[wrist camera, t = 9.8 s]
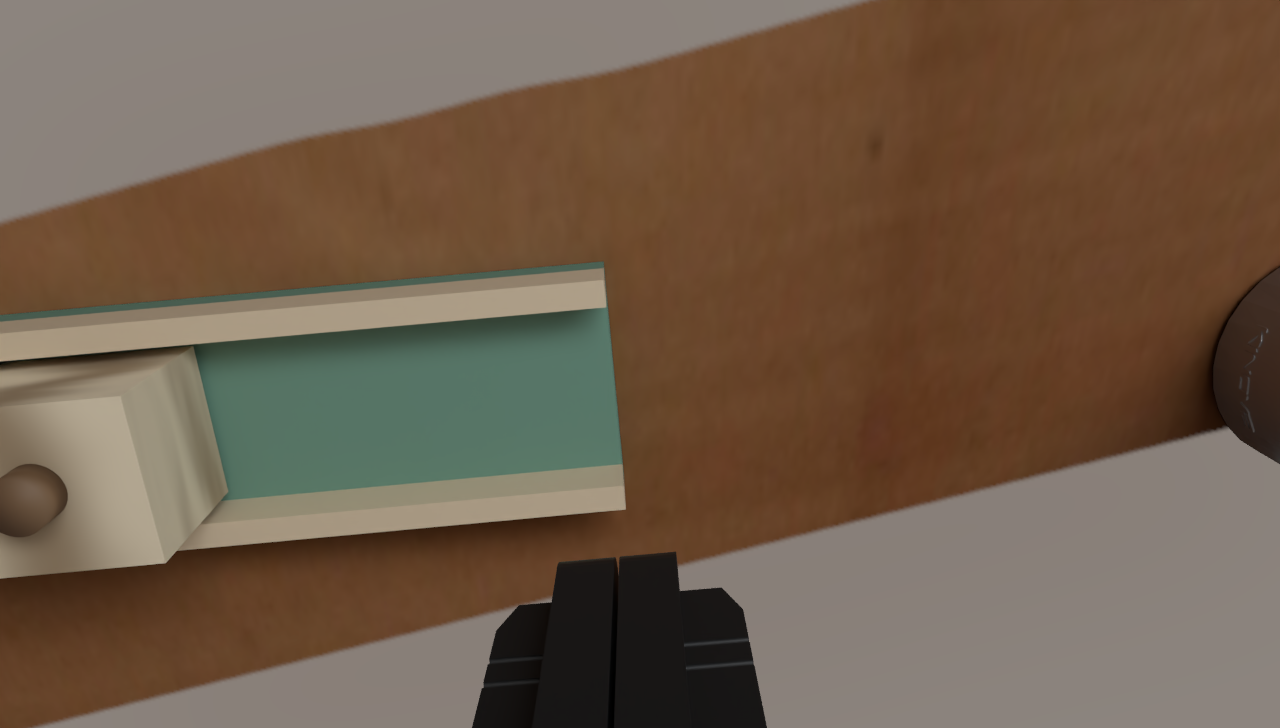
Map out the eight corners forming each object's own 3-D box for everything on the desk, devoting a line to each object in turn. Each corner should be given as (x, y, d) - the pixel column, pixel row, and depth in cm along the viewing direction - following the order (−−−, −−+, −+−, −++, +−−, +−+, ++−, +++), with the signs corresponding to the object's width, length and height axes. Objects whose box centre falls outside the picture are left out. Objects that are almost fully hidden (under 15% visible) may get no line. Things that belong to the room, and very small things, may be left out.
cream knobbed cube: (193, 346, 34) (100, 409, 28) (228, 491, 36) (149, 582, 30) (4, 362, 34) (-132, 430, 28) (49, 507, 36) (-69, 602, 30)
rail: (603, 261, 36) (603, 300, 30) (623, 474, 38) (628, 548, 33) (-23, 317, 35) (-148, 367, 29) (43, 527, 38) (-59, 612, 32)
